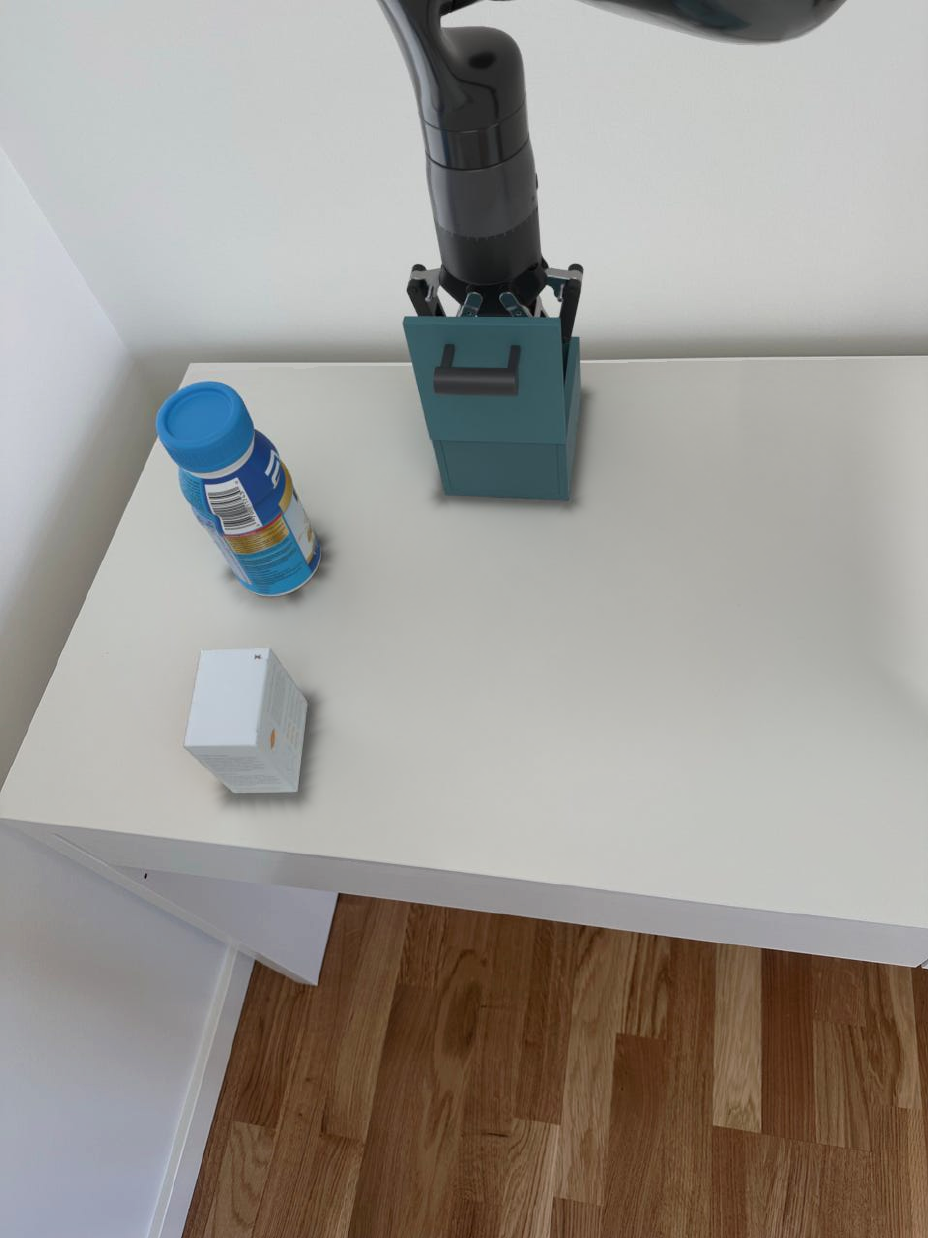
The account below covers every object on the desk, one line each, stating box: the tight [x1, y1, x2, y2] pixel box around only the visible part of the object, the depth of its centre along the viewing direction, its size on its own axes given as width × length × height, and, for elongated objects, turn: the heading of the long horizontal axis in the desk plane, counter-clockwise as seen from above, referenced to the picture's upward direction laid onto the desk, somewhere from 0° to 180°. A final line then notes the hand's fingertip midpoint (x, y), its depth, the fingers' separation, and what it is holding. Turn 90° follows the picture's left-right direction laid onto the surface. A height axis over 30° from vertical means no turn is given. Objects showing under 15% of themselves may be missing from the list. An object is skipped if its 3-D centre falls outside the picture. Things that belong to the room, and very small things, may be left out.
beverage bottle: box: [155, 380, 322, 597], centre depth 76 cm, size 8×8×20 cm
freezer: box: [431, 336, 582, 501], centre depth 84 cm, size 13×12×8 cm
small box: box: [182, 647, 309, 794], centre depth 71 cm, size 8×6×10 cm
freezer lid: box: [402, 315, 566, 444], centre depth 71 cm, size 13×12×5 cm
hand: (505, 370), depth 79 cm, fingers closed on ink box, 5 cm apart
